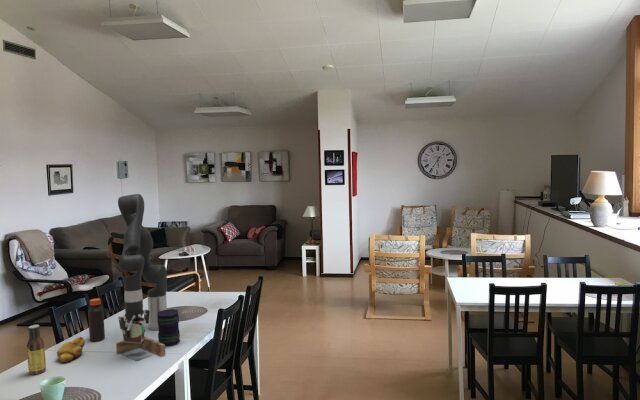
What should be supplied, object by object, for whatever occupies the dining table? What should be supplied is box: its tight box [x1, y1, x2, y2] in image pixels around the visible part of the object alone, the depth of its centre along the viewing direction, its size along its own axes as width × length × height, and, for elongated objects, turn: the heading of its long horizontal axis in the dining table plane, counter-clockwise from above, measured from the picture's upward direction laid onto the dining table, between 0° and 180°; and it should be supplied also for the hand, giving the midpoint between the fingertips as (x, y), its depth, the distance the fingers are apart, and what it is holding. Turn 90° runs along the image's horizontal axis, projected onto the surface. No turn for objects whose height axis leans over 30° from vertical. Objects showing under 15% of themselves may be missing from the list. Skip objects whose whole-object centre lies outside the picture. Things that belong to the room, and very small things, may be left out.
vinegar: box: [87, 298, 106, 343], centre depth 231 cm, size 7×7×20 cm
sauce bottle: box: [26, 324, 47, 376], centre depth 194 cm, size 7×6×20 cm
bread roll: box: [56, 336, 86, 363], centre depth 209 cm, size 13×10×8 cm
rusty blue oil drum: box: [157, 308, 181, 348], centre depth 225 cm, size 10×10×15 cm
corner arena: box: [115, 335, 166, 362], centre depth 211 cm, size 20×12×5 cm, turn 51°
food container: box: [121, 316, 147, 344], centre depth 211 cm, size 12×6×10 cm, turn 73°
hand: (135, 335), depth 211 cm, fingers closed on food container, 6 cm apart
